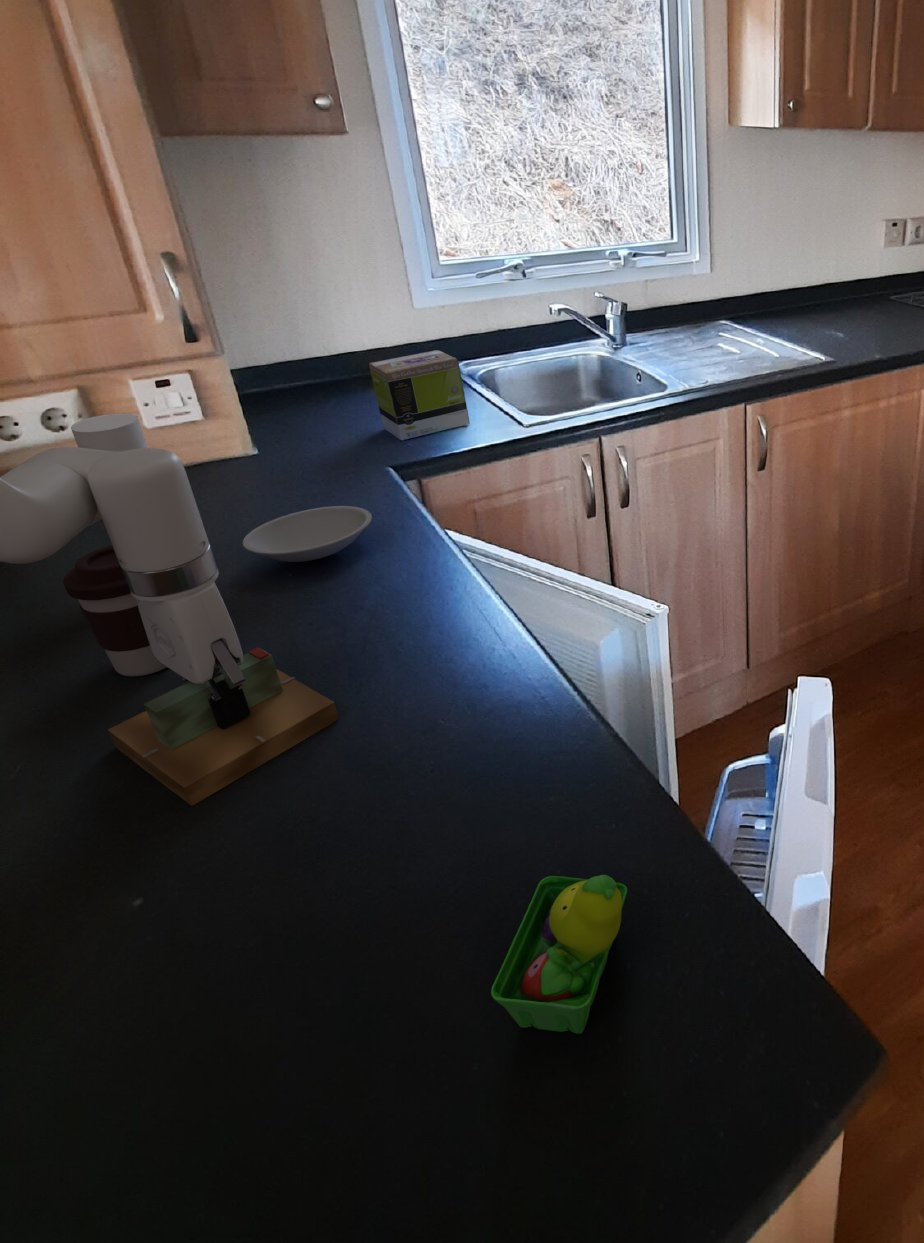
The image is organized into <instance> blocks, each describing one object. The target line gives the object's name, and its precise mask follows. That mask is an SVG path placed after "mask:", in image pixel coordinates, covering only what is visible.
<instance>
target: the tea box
mask: <svg viewBox="0 0 924 1243" xmlns="http://www.w3.org/2000/svg"><path fill="white" fill-rule="evenodd" d="M368 366H369V373H370V375H371V380H372V383H373V384H372V385H373V388H374V392H375V397H376V401H377V405H378V406H377V407H378V410H379V414H380V419H381V422H382V426H383V428H384V430H386V431H387V432H388V433H390V434H391V435H392V436H394V437H395V438H396V439H398V440H399V441H405V440H409V439H414V438H417V437H421V436H425V435H429V434H435V433H438V432H442V431H446V430H450V429H454V428H458V427H462V426H467V425H470V424H471V422H470V417H469V412H468V405H467V400H466V394H465V390H464V385H463V380H462V374H461V369H460V364H459V359H458V358H456V357H454V356H451V355H450V354H447V353H445V352H443V351H441V350H439V349H434V350H430V351H424V352H419V353H414V354H409V355H404V356H399V357H393V358H389V359H384V360H378V361H373V362H369V363H368Z"/></svg>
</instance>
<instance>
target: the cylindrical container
mask: <svg viewBox="0 0 924 1243" xmlns="http://www.w3.org/2000/svg"><path fill="white" fill-rule="evenodd" d="M70 430H71V432H72V435H73V438H74V440H75V442H76V445H77V447H78V448H87V449H95V450H104V451H115V452H122V451H127V450H132V449H140V448H149V446H148V443H147V440H146V438H145V434H144V432H143V429H142V426H141V423H140V420H139V417H138V415H136V414H133V413H127V412H126V413H124V412H123V413H119V412H118V413H108V414H107V413H106V414H102V415H95V416H91V417H87V418H85V419H81V420H79V421H76V422H75V423H73V424H72V425H71V426H70Z"/></svg>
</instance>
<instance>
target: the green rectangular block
mask: <svg viewBox="0 0 924 1243" xmlns="http://www.w3.org/2000/svg"><path fill="white" fill-rule="evenodd" d="M237 666H238V665H237ZM238 667H239V669H240V670H241V672H242V674H243V675H244V677H245V679H246V681H245V682H244V683H242V685H243V688H242V689H243V692H244V695H245V698H246V701H247V704H248V707H249V709H250V708H251V707H253V706H255V705H257V704H259V703H261V702H263V701H265V700H266V699H268V698H270V697H272V696H274V695H276V694H278V693H279V692H281V691H283V689H282V686H281V683H280V680H279V676H278V673H277V670H278V669H277V667H276V664H275V661H274V657H273V655H272V654H271V653H269V652H267V651H266V650H264V649H262V648H260V647H255V648H253V649H251V650H249V651H248V653H245V654H243V662H242V664H241V665H240V666H238ZM276 669H277V670H276ZM213 679H214V681H215V683H216V685H218V683H219V682H221V681H223V680H224V676H223V674H222V675H220V676H218V677H215V678H213ZM187 682H188V683H187ZM187 682H185V683H186V684H185V683H184V684H182V685H179V686H178V687H176V688H174V689H171V690H169V691H167V692H165V693H164V694H161V695H159V696H156V697H155V698H153V699H151V700H149V701H146V702H145V703H143V706H144V708H145V711H147V714H148V716H149V719H150V721H151V723H152V726H153V728H154V731H155V733H156V736H157V738H158V741H159V742H160V743H162V744H163V745H165V746H166V747H167V748H169V749H170V750H173V749H175V748H177V747H179V746H180V745H182V744H184V743H186V742H188V741H190V740H192V739H193V738H195V737H197V736H199V735H201V734H203V733H205V732H207V731H208V730H210V729H212V728H214V727H216V726H217V723H216V720H215V717H214V715H213V712H212V709H211V706H210V704H209V701H208V699H210V698H212V697H211V695H210V693H209V691H208V689H207V686H206V684H205V683H203V684H196V683H193V682H191V681H190V682H189V681H187Z"/></svg>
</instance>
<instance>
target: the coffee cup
mask: <svg viewBox="0 0 924 1243" xmlns="http://www.w3.org/2000/svg"><path fill="white" fill-rule="evenodd" d="M62 584H63V586H64V588H65V591H66V593H67V595H68V596H69V597H71V598H72V599H76V600H77V601H78V604H79V609H80V611H81V613H82V615H83V617H84V619H85V621H86V622H87V625H88V626H89V628H90V631H91V632H92V634H93V636H94V638H95V639H96V642H97V643H98V645H99V646H100V648H101V649H103V650H104V652H105V653H106V655H107V658H108V659H109V661H110V663H111V665H112V667H113V669H114V670H115V671H116V672H117V673H118V674H120V675H122V676H125V677H143V676H147V675H152V674H154V673H157V672H160V671H162V670H165V669H167V668H168V667H167V666H165V665H164V664H162V663H161V662H160V661H158V660H157V659H156V657H155V656H154V654H153V652H152V649H151V646H150V643H149V640H148V637H147V634H146V631H145V628H144V625H143V621H142V618H141V615H140V612H139V608H138V604H137V600H136V598H134V597H133V596H132V595H131V592H130V589H129V587H128V584H127V581H126V579H125V576H124V574H123V571H122V569H121V566H120V564H119V561H118V559H117V556H116V553H115V551H114V548H113V546H112V545H108V546H104V547H101V548H98V549H95V550H92V551H91V552H88V553H86V554H84V555H82V556H81V557H80V558H79V559H77V561H76V562H75V564H74V567H73V568H72V569H70V570H68V572H67V573H66V574H65V575H64V576H63V580H62Z"/></svg>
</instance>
